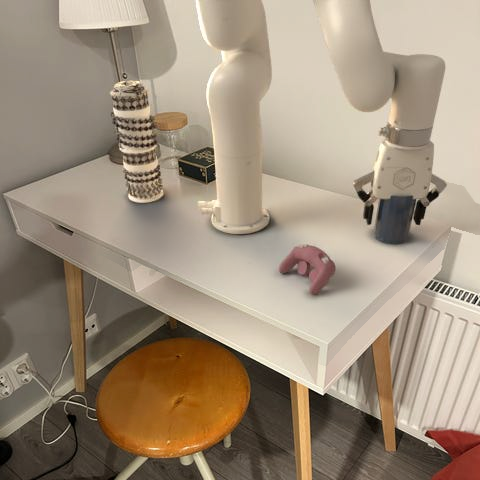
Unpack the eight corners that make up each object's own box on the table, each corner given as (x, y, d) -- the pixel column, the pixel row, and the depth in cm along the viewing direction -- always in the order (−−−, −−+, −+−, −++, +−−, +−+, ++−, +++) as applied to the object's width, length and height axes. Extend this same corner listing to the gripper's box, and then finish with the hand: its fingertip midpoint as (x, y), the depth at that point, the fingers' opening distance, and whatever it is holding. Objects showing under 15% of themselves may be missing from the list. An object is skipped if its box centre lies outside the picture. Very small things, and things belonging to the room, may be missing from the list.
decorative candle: (119, 195, 118) (97, 84, 102) (151, 184, 122) (134, 76, 107) (140, 207, 112) (119, 91, 97) (172, 194, 117) (158, 82, 101)
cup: (376, 244, 96) (383, 197, 90) (371, 227, 101) (378, 182, 95) (411, 244, 96) (421, 197, 89) (404, 228, 101) (413, 182, 94)
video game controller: (327, 297, 85) (344, 261, 83) (311, 296, 82) (327, 258, 80) (291, 272, 92) (306, 238, 89) (275, 271, 89) (289, 235, 86)
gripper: (361, 141, 83) (350, 230, 94) (465, 141, 82) (441, 231, 93) (356, 127, 89) (346, 213, 100) (453, 127, 88) (432, 213, 99)
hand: (392, 221), depth 97 cm, fingers open, 9 cm apart
